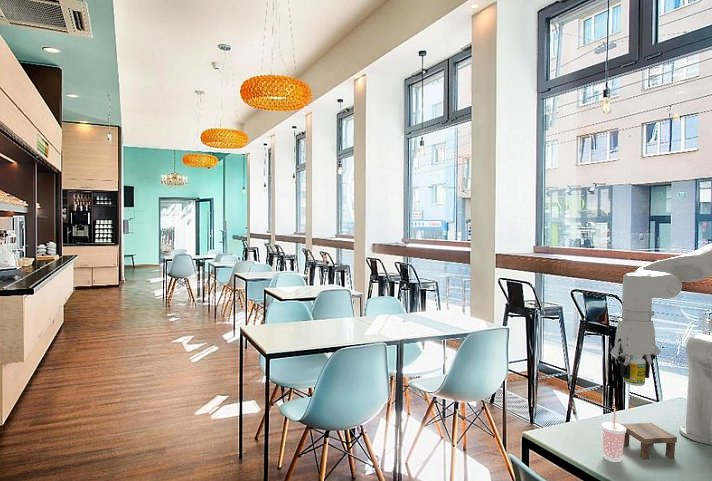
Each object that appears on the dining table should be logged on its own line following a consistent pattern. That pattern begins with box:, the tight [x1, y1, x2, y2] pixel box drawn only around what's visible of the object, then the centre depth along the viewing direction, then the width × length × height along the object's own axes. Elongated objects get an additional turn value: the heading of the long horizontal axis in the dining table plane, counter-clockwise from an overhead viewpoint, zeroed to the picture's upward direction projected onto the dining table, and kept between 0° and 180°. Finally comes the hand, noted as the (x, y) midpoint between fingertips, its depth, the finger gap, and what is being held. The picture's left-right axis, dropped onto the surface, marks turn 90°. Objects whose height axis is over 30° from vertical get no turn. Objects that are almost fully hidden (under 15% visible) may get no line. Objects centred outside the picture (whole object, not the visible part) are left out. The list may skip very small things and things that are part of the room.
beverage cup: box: [601, 408, 626, 463], centre depth 141 cm, size 6×6×14 cm
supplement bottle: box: [623, 354, 646, 387], centre depth 148 cm, size 5×5×10 cm
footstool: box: [620, 422, 678, 460], centre depth 147 cm, size 10×10×6 cm
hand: (634, 376), depth 148 cm, fingers closed on supplement bottle, 5 cm apart
